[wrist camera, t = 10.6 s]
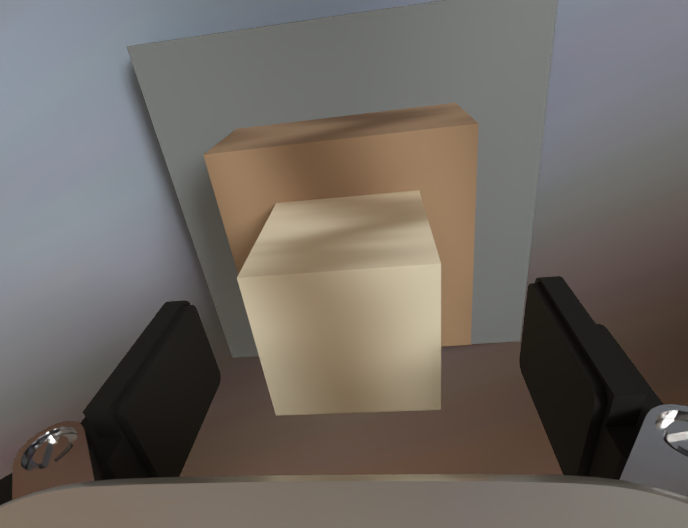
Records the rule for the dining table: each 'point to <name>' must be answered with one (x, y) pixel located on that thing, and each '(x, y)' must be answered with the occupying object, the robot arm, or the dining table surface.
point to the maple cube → (347, 305)
